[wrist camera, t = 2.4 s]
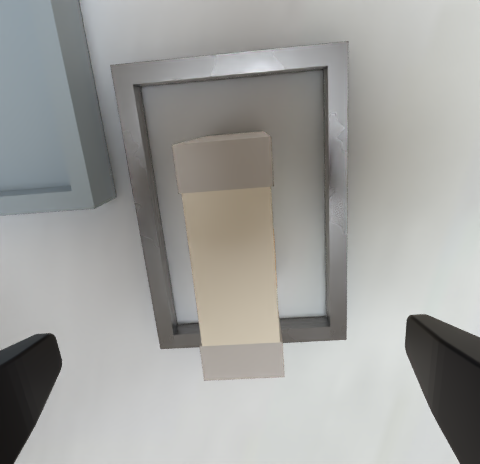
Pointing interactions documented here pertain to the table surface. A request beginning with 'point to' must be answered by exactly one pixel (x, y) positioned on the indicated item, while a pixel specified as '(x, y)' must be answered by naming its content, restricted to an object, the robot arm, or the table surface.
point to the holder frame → (336, 174)
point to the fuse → (232, 252)
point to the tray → (49, 112)
